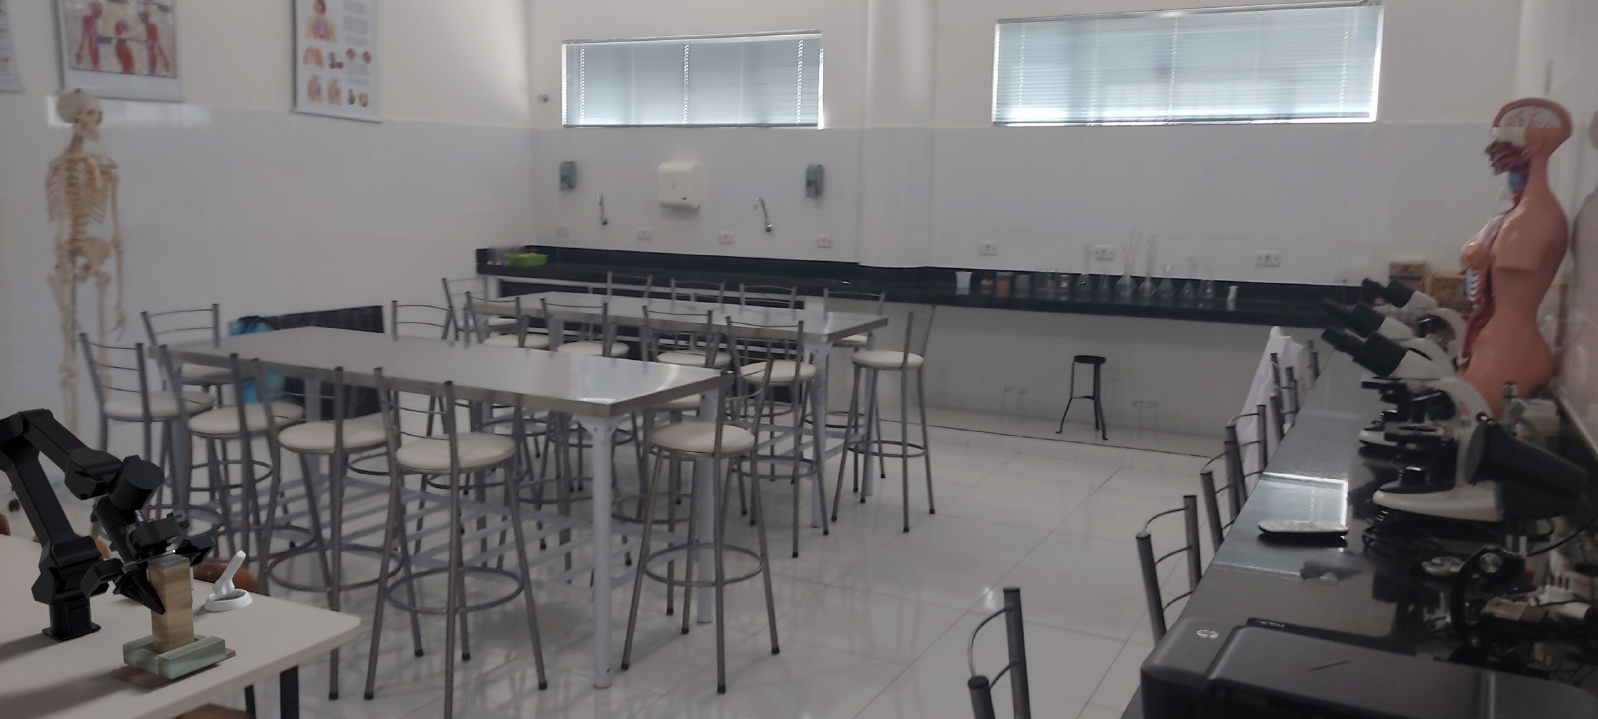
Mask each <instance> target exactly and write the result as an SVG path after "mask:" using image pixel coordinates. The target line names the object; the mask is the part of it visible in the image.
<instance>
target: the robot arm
mask: <svg viewBox="0 0 1598 719" xmlns="http://www.w3.org/2000/svg"><path fill="white" fill-rule="evenodd" d="M40 453H42V454H43V455H44V456H45V457H47V458H48V459H49V460H50V461H51V462H52V463H53V464H54V465H55V466H57V467H58V468H59V469H60V470H61V471H62V472H63V474H64V480H63V483H64V485H65V486H66V488H67V489H68V490H69V492H70V493H71V494H72V495H73V496H74V497H75V498H76V499H78V500H79V501H87V500H91V499H96V498H100V499H99V500H98V502H97V503H95V504H93V505H92V512H91V513H90V516H89V518H90V520H89V522H90V523H93V524H94V523H97V522H99V523H100V524H101V527H102V529H103V530H104V531H105V532H106V535H107V536H108V538H109V540H110V541H111V542H110V544H109V546H108V549H109V550H110V552H111V553H113V552H114V553H115V552H117V553H118V555H119V556H120V558H119V557H112V558H109V559H106V560H105V559H104V558H103V553H102V552H101V551H100V550H99V548H98V547H97V544H96V541H95V539H94V537H92V536H91V535H90V534H88V535H84V536H81V535H79V534H78V533H76V532H75V531H74V529H73V527H72V525H71V522H70V520H69V519H68V517H67V515H66V512H65V510H64V509H63V507H62V505H61V503H60V500H59V499H58V497H57V495H56V493H55V490H54V488H53V486H52V484H51V482H50V480H49V477H48V476H47V474H46V472H45V470H44V467H43V466H42V464H41V461H40V460H39V456H40ZM0 471H1V472H2V473H4V474H5V475H6V476H7V478H8V480H9V483H10V484H11V486H12V488H13V491H14V493H15V496H16V497H17V499H18V501H19V503H20V505H21V507H22V509H23V511H24V514H25V515H26V517H27V519H28V521H29V523H30V526H31V528H32V529H33V531H34V534H35V536H36V538H37V540H38V542H39V544H40V546H41V553H40V557H39V561H38V566H37V567H38V571H39V573H40V574H39V575H38V577H37V578H36V580H35V581H34V583H33V584H32V585H31V588H30V591H31V594H32V597H33V600H34V602H38V603H39V604H45V605H47V606H48V611H49V612H48V614H49V625H50V627H46V628H42V629H41V633H42V634H44V635H46V636H49V637H50V638H51V639H55V640H56V641H59V642H60V641H64V640H68V639H72V638H74V637H78V636H82V635H85V634H88V633H92V632H96V631H99V630H101V629H102V626H101V624H98V623H95V622H94V621H92V609H91V598H94V597H97V596H100V595H103V594H106V593H107V591H108V589H109V588H110V586H111V585H110V584H109V582H112V583H113V585H114V587H115V588H114V589H113V590H112V594H113V595H114V596H117V595H121V596H123V597H125V598H127V599H130V600H132V601H134V602H136V603H138V604H140V605H142V606H144V607H145V608H147V609H149V610H150V611H151V610H152V611H154V612H156V613H158V614H160V615H163V614H164V613H165V608H164V606H163V604H162V602H161V600H160V598H159V597H158V595H157V594H156V592H155V590H154V589H153V587H152V586H151V584H150V582H149V581H148V577H147V570H148V561H150V560H153V559H157V558H160V557H164V556H167V555H171V554H175V555H179V556H183V557H187V558H189V561H190V568H191V567H192V568H193V567H197V566H200V565H202V564H203V563H204V562H205V560H206V559H207V558H208V557H209V555H210V554H211V552H212V551H213V550H214V549H215V547H216V546H217V543H216V541H215V540H214V539H213V536H211V535H210V534H208V533H204V532H203V533H199V534H195V535H193V536H189V537H185V538H183V539H182V541H181V543H180V544H179V545H178V547H177V548H175V549H171V550H169V551H168V550H167V549H168V548H169V547H171V546H172V544H173V543H174V542H173V540H172V539H174V538H176V537H181V536H183V532H182V531H184V530H186V529H188V528H190V525H191V523H190V520H189V516H188V515H187V514H186V513H185V511H184V510H183V508H180V509H176V510H173V511H171V512H168V513H166V517H164V518H160V519H155V518H154V517H152V518H147V516H146V513H145V512H144V511H143V509H145V508H146V507H147V506H149V504H150V503H151V501H152V500H153V498H154V497H155V495H156V494H157V492H158V491H159V489H160V488H161V486H162V485H163V483H164V482H165V478H166V477H165V476H166V475H165V473H164V470H163V468H162V466H158V464H156V463H154V462H152V461H149V460H146V459H142V458H141V457H140V455H139V454H132V455H128V456H125V457H124V458H123V460H121V459H120V458H118V457H117V456H115V455H113V454H111V453H110V452H107V451H103V450H98V449H94V448H93V449H92V448H91V447H89V446H88V445H87V444H85V443H84V442H83V441H82V440H81V439H79V438H78V437H77V436H76V435H75V434H74V433H72V432H71V431H70V430H69V429H67V427H66V426H64V425H63V424H62V423H60V421H58V420H57V419H56V418H55V417H54V414H53V412H52V410H50V409H48V408H44V407H40V408H33V409H26V410H20V411H17V412H16V413H12V414H11V415H9V416H7V417H4V418H1V419H0ZM191 594H192V591H191ZM192 595H193V594H192ZM193 602H194V600H193V598H192V603H193Z"/></svg>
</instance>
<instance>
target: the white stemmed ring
mask: <svg viewBox="0 0 1598 719" xmlns="http://www.w3.org/2000/svg"><path fill="white" fill-rule="evenodd" d="M246 555H247V554H246V553H245V552H244V551H243V550H242V549H241V550H239V551H238V552H236V554H235V555H234V556H233V558H232V559H231V560H230V562H229V563H228V565H227V566H226V568H225V570H224V572H223V573H222V574H221V576H220V577H219V579H217V580H216V581H215V583H214V585H212V586H211V587H212V588H211V590H212V592H213V593H211V594H210V595H208V596H207V598H206V600H205V603H204V605H203V608H204V610H206V611H208V610H211V611H210V612H216V611H219V612H220V611H222V612H230V610H231V611H235V610H239V608H240V609H243V608H245V607H247V605H248V606H250V603H251V604H252V603H253V598H252V596H251V595H250V592H248V591H247V590H245V589H241V588H235V585H234V583H233V577H234V576H235V574H236V573H237V571H238V570H239V568H240V567H241V566H242V563H243V561H244V560H245V558H246ZM225 597H228V598H235V599H228V600H221V598H222V599H226V598H225ZM217 599H218V600H217ZM214 600H215V601H214ZM219 612H218V613H219Z"/></svg>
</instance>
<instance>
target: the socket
mask: <svg viewBox="0 0 1598 719" xmlns="http://www.w3.org/2000/svg"><path fill="white" fill-rule="evenodd" d="M236 652H237V651H236V650H235V649H232V648H229V647H226V640H225V638H221V637H219V636H214V635H211V636H208V637H207V636H205V635H201V634H198V633H195V632H194V643H191V644H188V645H185V646H183V647H180V648H177V649H174V650H172V651H169V652H166V653H163V654H161V655H160V654H157V653H154V650H153V635H152V634H148V635H146V636H142V637H141V638H136V639H134V640H132V641H127V642H126V643H123V644H122V656H123V658H122V659H123V664H126V665H125V666H122V667H119V668H116V669H114V670H112V671H111V672H112V674H111V675H112V677H115V678H117V679H120V680H123V681H126V682H129V683H131V684H134V685H138V686H140V687H143V688H146V689H149V690H150V689H153V688H155V687H158V686H160V685H164V684H165V683H168V682H171V681H173V680H174V681H175V680H176V679H179V678H181V677H184V676H186V675H189V674H192V673H194V672H197V671H199V670H201V669H202V670H203V669H205V668H207V667H210V666H212V665H215V664H217V663H220V662H222V661H223V662H224V661H226V660H227V659H230V658H233V657H236V656H237V653H236Z"/></svg>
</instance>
